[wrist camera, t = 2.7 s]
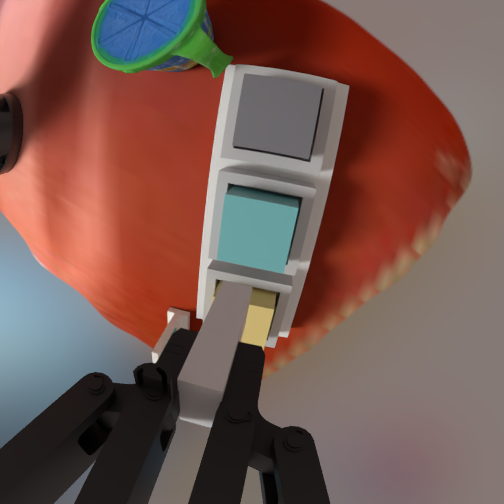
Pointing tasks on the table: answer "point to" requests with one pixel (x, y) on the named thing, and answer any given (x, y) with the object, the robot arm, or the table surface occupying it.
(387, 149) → the table surface
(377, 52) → the table surface
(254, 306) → the mustard button
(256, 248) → the teal button
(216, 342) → the robot arm
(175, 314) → the sign
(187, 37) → the snack cup
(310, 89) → the charcoal button
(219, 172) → the board
